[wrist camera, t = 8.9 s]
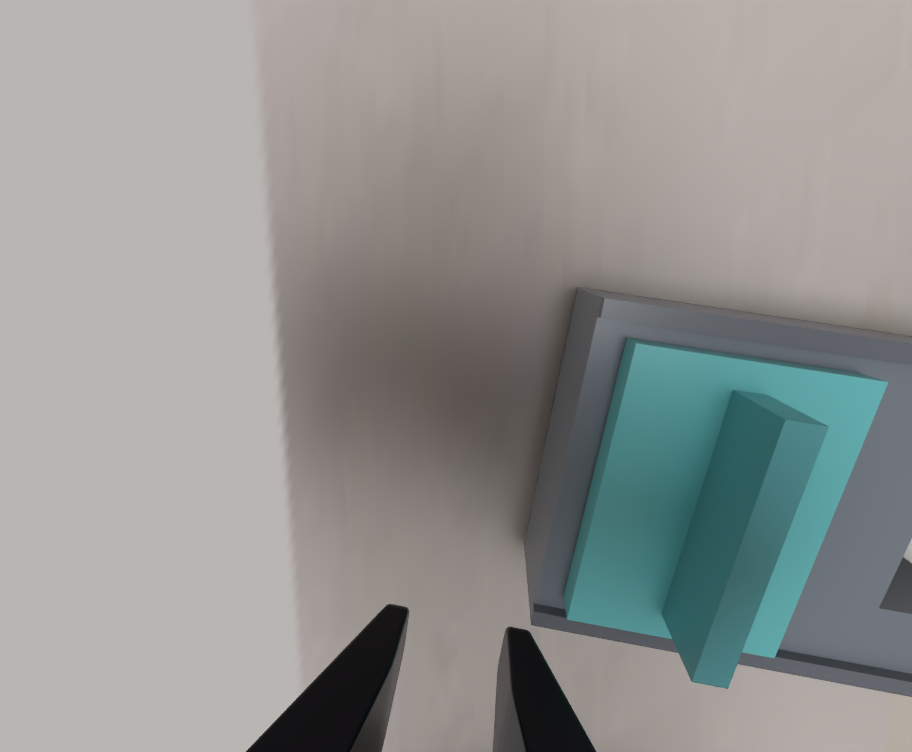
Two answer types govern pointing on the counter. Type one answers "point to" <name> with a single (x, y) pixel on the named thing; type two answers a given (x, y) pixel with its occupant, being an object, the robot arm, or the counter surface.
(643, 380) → the lid
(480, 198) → the counter surface
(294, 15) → the counter surface
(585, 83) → the counter surface
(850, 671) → the housing
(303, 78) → the counter surface
